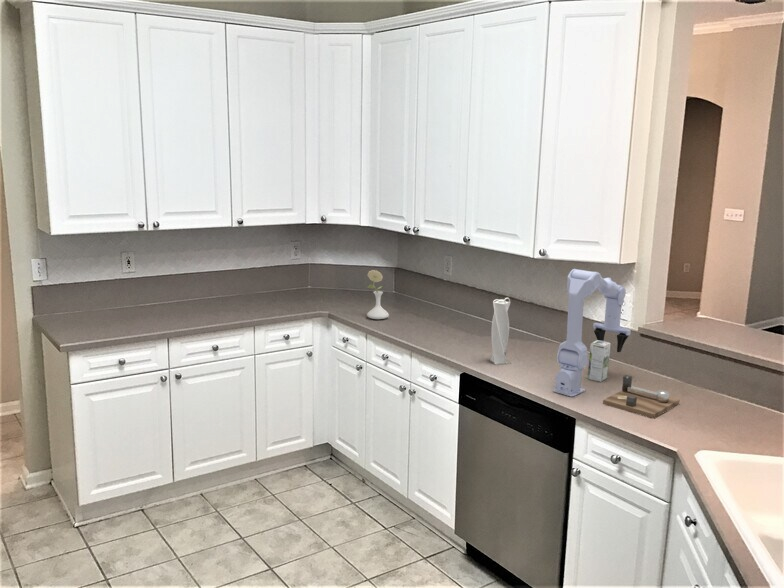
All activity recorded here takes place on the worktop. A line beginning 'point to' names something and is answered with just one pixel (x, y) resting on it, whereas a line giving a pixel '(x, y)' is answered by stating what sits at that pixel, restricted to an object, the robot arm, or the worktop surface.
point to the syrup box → (599, 360)
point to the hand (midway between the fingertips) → (609, 349)
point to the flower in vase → (377, 310)
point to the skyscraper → (500, 331)
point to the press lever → (644, 390)
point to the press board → (639, 403)
